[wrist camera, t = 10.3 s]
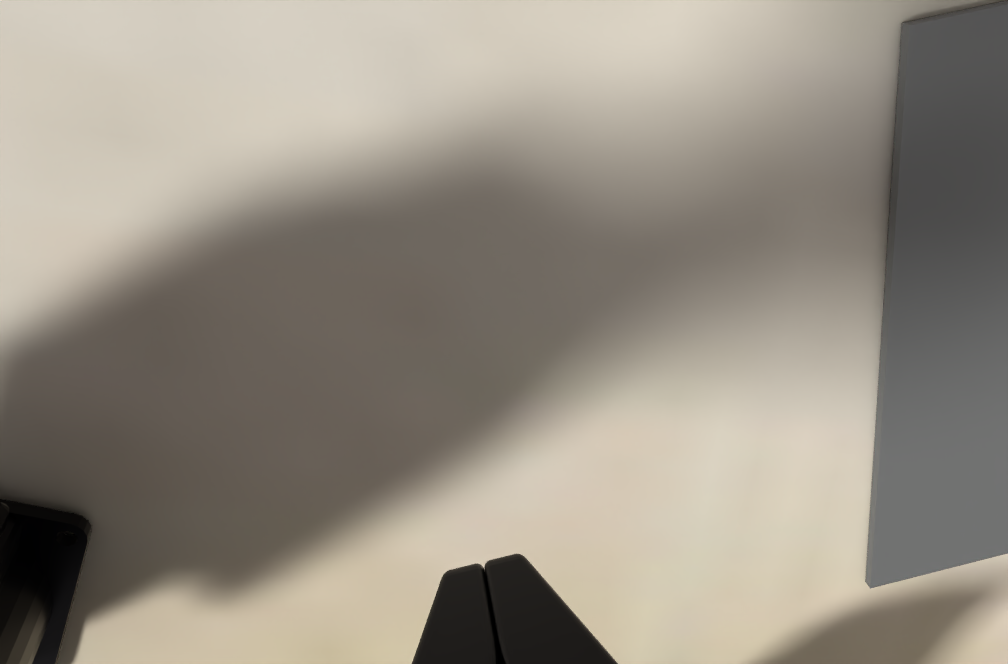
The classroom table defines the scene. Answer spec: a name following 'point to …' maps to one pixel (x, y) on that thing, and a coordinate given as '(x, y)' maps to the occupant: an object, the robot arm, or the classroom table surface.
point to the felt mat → (945, 305)
